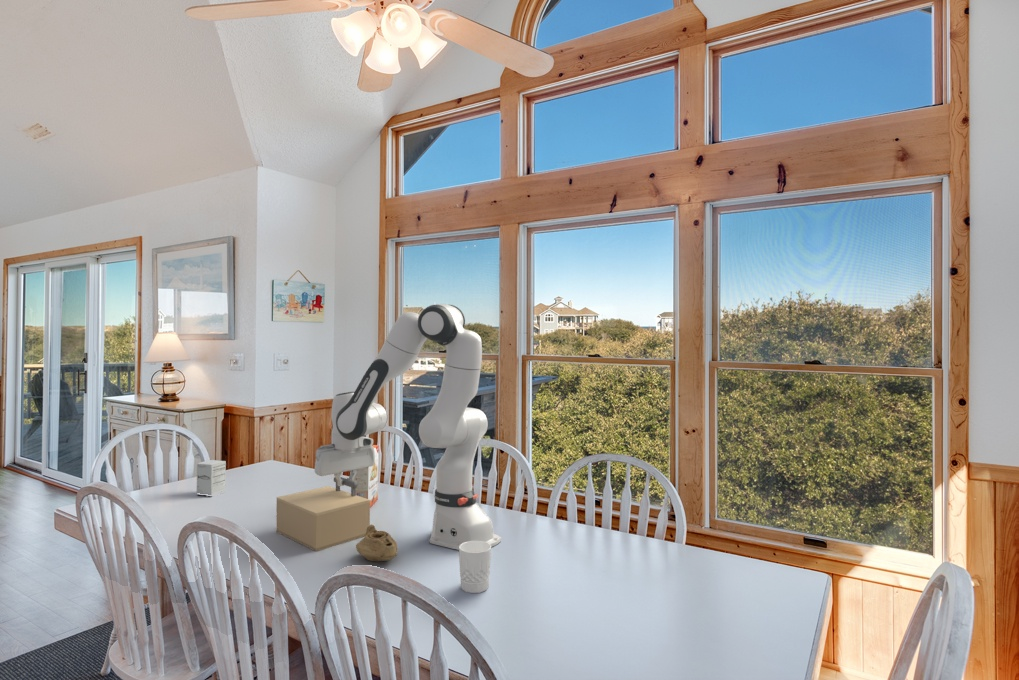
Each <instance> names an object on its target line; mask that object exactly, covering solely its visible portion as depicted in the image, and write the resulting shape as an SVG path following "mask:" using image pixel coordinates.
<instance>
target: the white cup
mask: <svg viewBox="0 0 1019 680" xmlns="http://www.w3.org/2000/svg"><path fill="white" fill-rule="evenodd" d="M491 555H492V547H491V545H490V544H489V543H487V542H483V541H468V542H464V543H462V544H461V545H460V546H459V550H458V556H459V574H460V575H459V577H460V586H461V590H462V591H463V592H466V593H470V594H479V593H483V592H485V591H487V590H488V589H489V586H490V574H491V573H490V572H491Z"/></svg>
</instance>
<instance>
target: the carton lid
mask: <svg viewBox="0 0 1019 680" xmlns="http://www.w3.org/2000/svg"><path fill="white" fill-rule="evenodd" d="M340 477H341V476H340ZM341 479H342V480H344V486H346V487H349V488H350V492H347V491H344V490H341V486H338V485H337V479H336V478H335V476H334V477H333V482H334V483H335V487H332V486H329V485H327V486H323V487H318V488H313V489H308V490H304V491H299V492H296V493H290V494H286V495H282V496H276V501H277V500H278V501H281V502H283V503H285V504H288V505H290V506H293V507H295V508H298V509H300V510H303V511H305V512H307V513H310V514H312V515H315V516H319V515H323V514H327V513H330V512H334V511H338V510H342V509H346V508H350V507H354V506H358V505H362V504H365V503H369V502H370V500H369V499H366V498H363V497H360V496H357V495H356V487H357V486H358V483H357V482H355V481H352V480H349V479H347V478H345V477H341Z"/></svg>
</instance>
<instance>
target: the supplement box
mask: <svg viewBox="0 0 1019 680" xmlns="http://www.w3.org/2000/svg"><path fill="white" fill-rule="evenodd" d="M226 466H227V463H226V460H216V459H208V460H204V461H201V462H197V463H196V494H197V493H200V494H208V495H212V494H216V493H219V492H222V491H225V492H226V479H227V478H226V477H227V474H226V473H227V472H226Z"/></svg>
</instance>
